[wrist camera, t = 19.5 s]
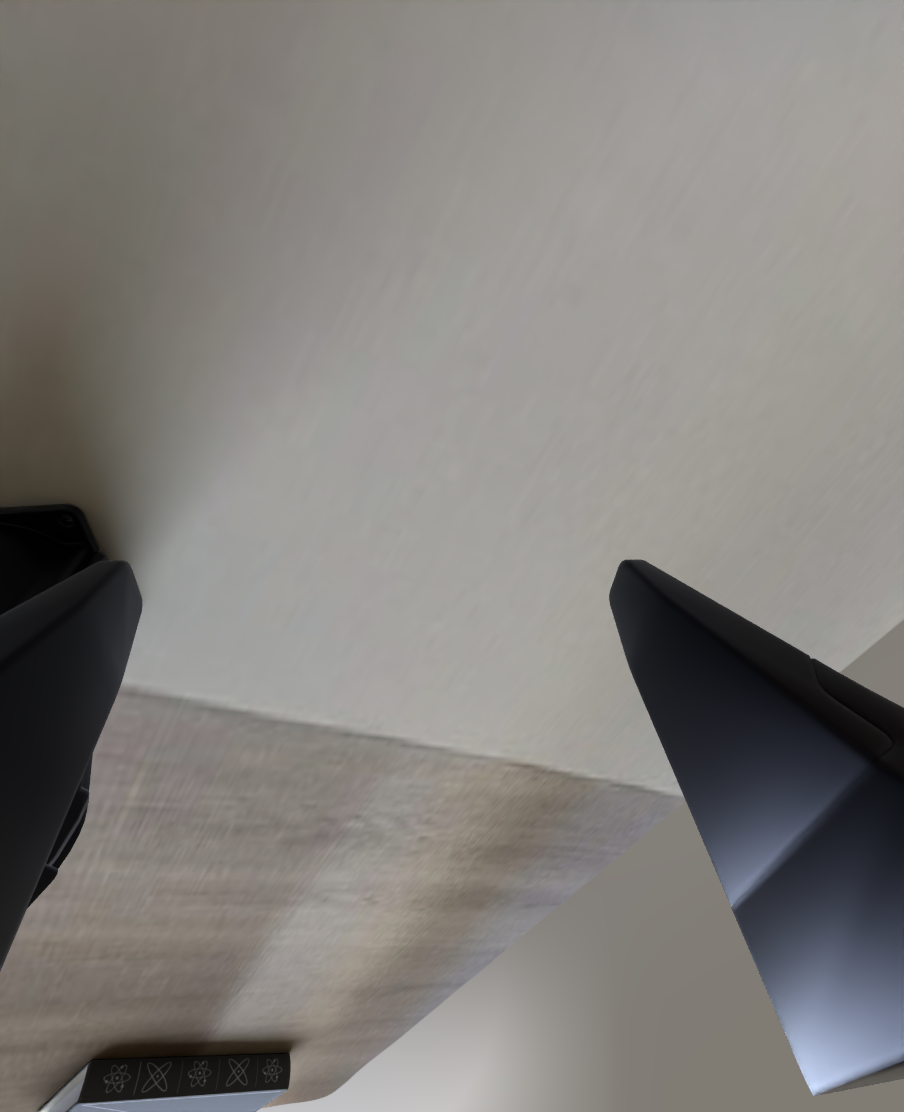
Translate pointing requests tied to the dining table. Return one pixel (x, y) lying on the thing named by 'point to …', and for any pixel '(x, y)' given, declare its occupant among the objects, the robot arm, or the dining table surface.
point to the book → (175, 1084)
